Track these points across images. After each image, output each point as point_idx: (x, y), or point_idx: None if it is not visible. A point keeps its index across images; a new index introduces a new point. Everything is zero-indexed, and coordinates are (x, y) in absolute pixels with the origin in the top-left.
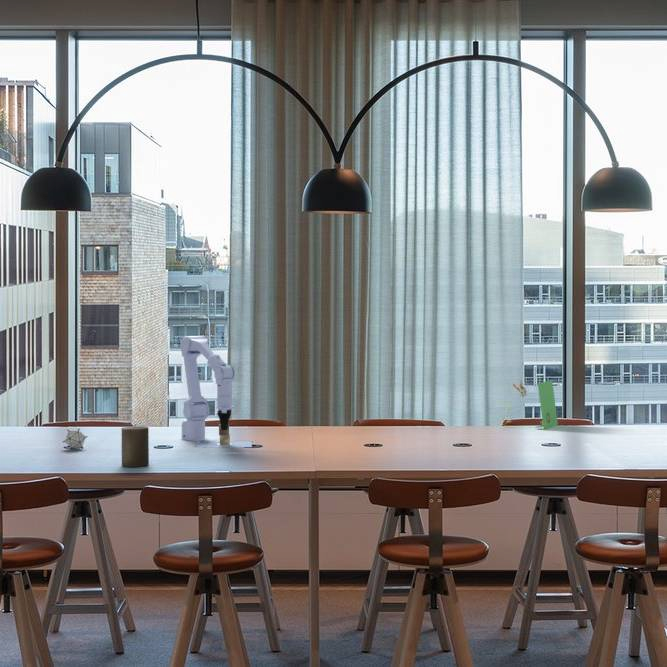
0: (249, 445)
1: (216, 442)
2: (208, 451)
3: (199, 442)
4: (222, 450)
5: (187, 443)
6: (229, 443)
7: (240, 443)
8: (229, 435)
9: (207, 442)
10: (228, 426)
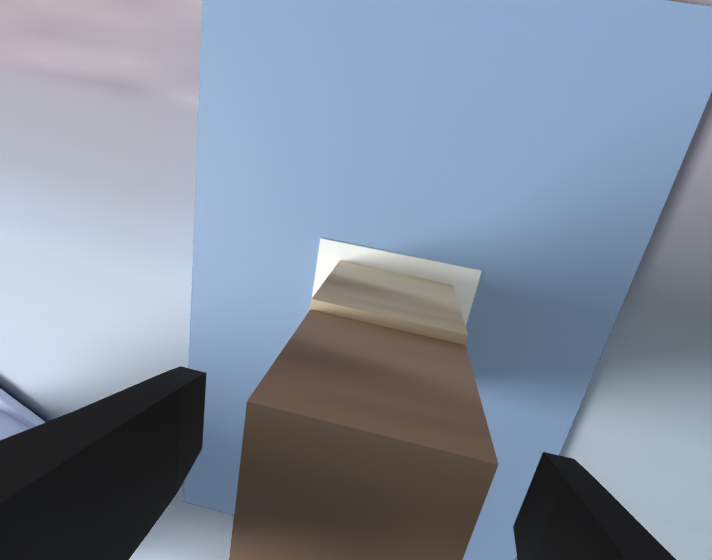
0: (576, 27)
1: (217, 367)
2: (706, 531)
3: (197, 494)
4: (708, 406)
5: (163, 546)
6: (454, 292)
7: (343, 127)
8: (466, 334)
9: (207, 439)
10: (490, 450)
